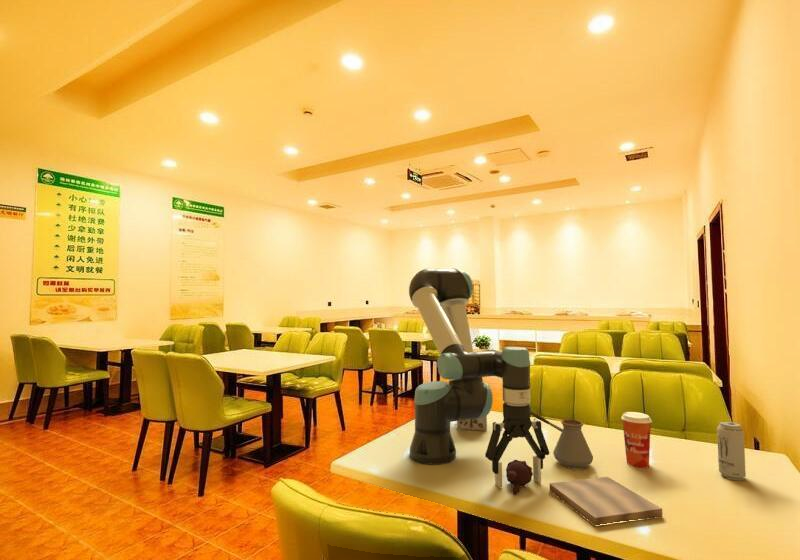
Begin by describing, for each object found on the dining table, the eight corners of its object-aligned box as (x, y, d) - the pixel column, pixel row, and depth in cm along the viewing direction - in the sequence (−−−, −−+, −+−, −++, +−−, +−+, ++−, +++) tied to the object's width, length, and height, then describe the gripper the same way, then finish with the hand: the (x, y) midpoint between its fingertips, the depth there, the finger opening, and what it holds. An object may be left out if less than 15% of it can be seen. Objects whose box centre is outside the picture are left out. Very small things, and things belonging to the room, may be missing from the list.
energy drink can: (713, 472, 121) (711, 421, 122) (731, 471, 122) (729, 420, 123) (732, 481, 115) (730, 427, 116) (751, 480, 116) (749, 426, 117)
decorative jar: (458, 421, 174) (458, 378, 175) (486, 422, 172) (486, 379, 173) (456, 429, 162) (456, 383, 163) (486, 431, 160) (486, 384, 161)
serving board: (595, 526, 93) (595, 517, 93) (549, 490, 110) (549, 483, 110) (662, 517, 96) (662, 508, 97) (607, 484, 114) (607, 476, 114)
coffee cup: (619, 464, 128) (617, 415, 128) (626, 456, 134) (625, 409, 135) (650, 471, 122) (648, 420, 123) (656, 463, 128) (654, 414, 129)
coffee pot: (596, 462, 129) (595, 414, 130) (589, 475, 120) (587, 422, 121) (529, 448, 142) (528, 404, 142) (517, 459, 132) (516, 411, 133)
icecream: (509, 450, 123) (494, 473, 110) (533, 448, 119) (521, 471, 106) (516, 473, 122) (502, 499, 109) (541, 472, 118) (529, 499, 105)
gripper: (483, 408, 109) (484, 493, 108) (561, 403, 115) (563, 484, 113) (472, 402, 117) (473, 481, 116) (546, 397, 122) (548, 473, 121)
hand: (518, 482), depth 115 cm, fingers open, 11 cm apart
